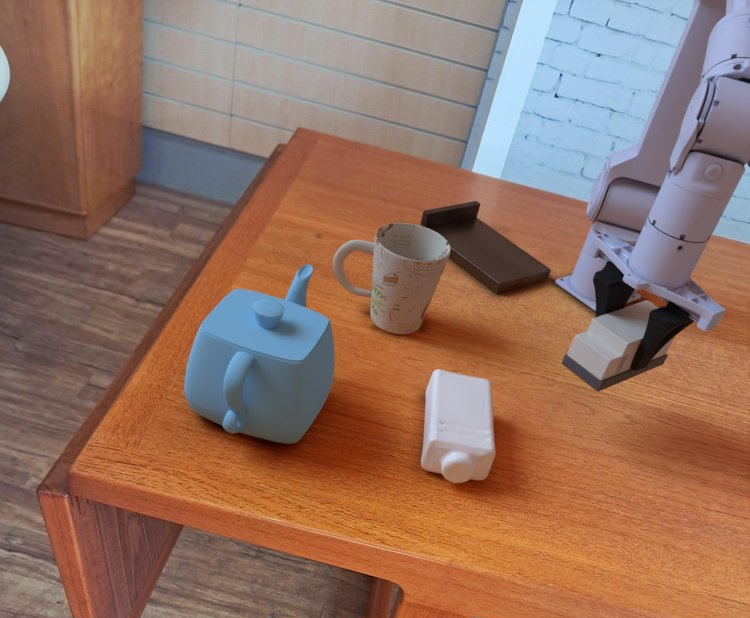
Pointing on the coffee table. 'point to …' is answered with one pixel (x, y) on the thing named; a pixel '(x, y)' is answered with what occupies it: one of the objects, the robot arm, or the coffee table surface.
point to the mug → (398, 273)
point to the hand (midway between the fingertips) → (618, 352)
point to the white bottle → (458, 427)
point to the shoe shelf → (483, 248)
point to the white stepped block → (612, 347)
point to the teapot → (262, 363)
